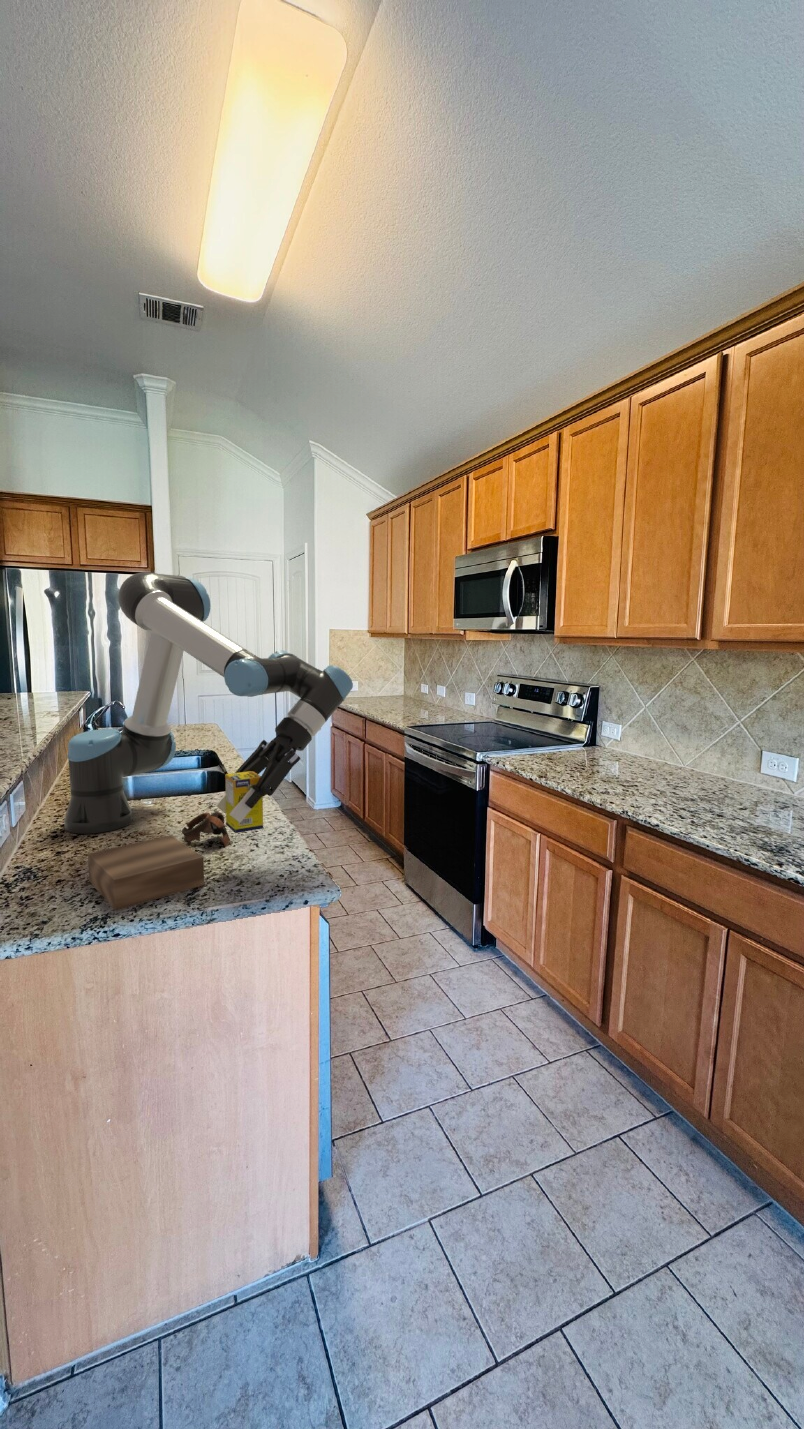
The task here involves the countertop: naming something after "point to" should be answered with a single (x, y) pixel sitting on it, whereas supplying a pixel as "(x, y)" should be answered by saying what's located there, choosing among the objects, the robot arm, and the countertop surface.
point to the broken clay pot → (206, 827)
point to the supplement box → (234, 793)
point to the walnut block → (145, 871)
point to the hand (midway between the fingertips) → (227, 813)
